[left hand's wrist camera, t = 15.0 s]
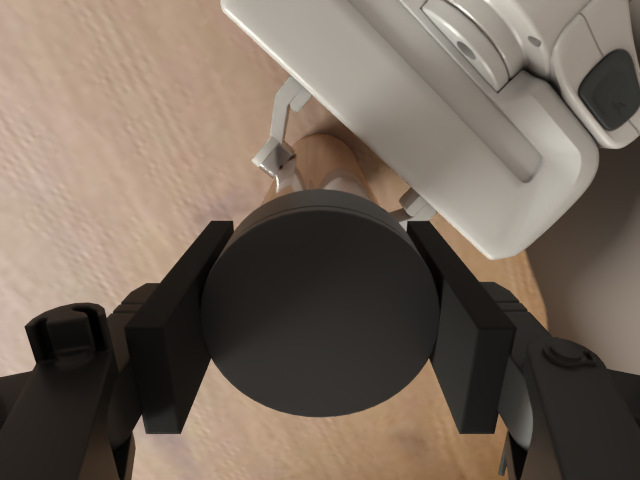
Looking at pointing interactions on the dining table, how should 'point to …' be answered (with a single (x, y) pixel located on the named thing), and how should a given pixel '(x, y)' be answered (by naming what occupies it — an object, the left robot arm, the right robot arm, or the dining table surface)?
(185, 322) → the left robot arm
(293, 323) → the lid
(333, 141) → the jar
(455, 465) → the dining table surface
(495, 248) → the right robot arm
